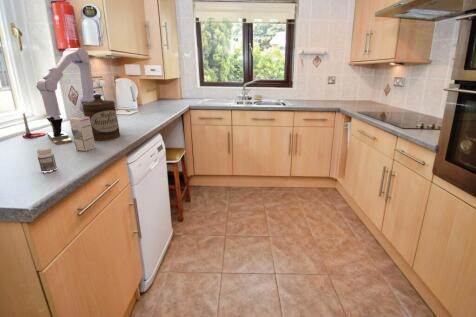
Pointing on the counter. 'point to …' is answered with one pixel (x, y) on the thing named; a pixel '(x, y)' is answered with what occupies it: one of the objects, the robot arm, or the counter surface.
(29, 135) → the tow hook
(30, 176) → the counter surface
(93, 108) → the brown labelled jar
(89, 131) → the syrup box
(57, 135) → the pin
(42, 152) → the pill bottle
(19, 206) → the counter surface
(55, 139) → the slotted panel plate
